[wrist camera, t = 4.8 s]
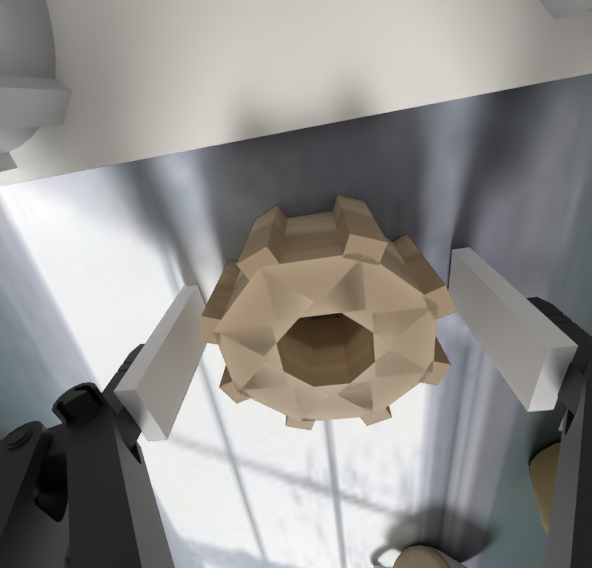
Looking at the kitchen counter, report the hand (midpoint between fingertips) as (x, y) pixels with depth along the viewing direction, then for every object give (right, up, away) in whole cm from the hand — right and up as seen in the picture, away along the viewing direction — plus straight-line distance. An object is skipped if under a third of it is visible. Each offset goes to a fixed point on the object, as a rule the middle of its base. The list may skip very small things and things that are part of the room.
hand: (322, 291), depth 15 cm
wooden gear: (0, 0, 0) cm, 0 cm away
